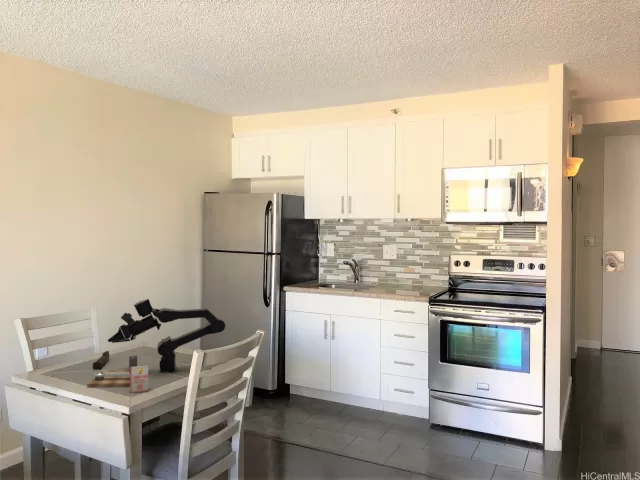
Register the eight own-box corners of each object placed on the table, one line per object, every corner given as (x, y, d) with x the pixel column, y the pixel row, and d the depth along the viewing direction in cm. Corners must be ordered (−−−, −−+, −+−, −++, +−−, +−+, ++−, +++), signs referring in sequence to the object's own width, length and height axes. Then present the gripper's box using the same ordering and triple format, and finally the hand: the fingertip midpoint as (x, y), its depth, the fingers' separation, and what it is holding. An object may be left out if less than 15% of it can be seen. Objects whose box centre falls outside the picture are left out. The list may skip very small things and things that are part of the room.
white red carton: (130, 390, 218) (130, 365, 217) (148, 388, 220) (148, 364, 220) (130, 392, 214) (130, 368, 214) (148, 391, 216) (148, 366, 216)
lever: (92, 377, 224) (92, 358, 224) (96, 374, 229) (95, 355, 228) (136, 377, 225) (136, 357, 225) (139, 374, 230) (138, 355, 230)
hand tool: (101, 370, 246) (101, 360, 246) (92, 370, 246) (92, 360, 246) (114, 359, 265) (114, 350, 265) (105, 359, 265) (105, 350, 264)
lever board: (148, 373, 241) (148, 367, 241) (136, 386, 222) (136, 380, 222) (103, 373, 240) (103, 367, 240) (87, 387, 221) (87, 380, 221)
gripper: (138, 311, 251) (106, 326, 246) (133, 307, 233) (98, 323, 229) (148, 332, 249) (116, 348, 245) (144, 330, 232) (109, 347, 227)
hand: (110, 341), depth 237 cm, fingers open, 9 cm apart
